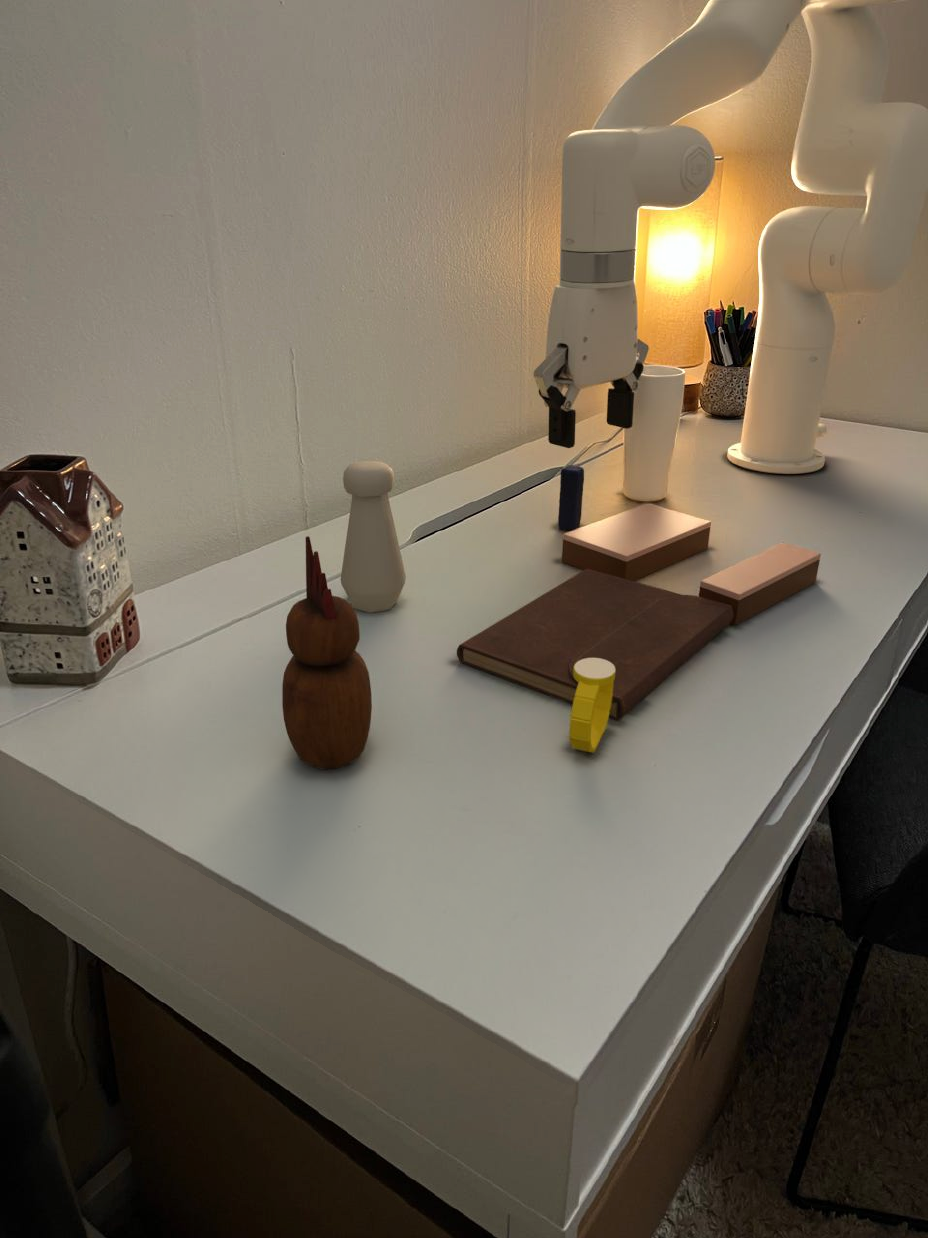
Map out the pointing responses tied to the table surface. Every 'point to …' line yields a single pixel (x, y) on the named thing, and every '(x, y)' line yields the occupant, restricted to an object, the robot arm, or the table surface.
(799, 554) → the brown long rectangular block
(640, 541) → the brown and tan block
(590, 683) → the watch
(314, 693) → the wooden figurine
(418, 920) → the table surface
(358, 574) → the salt shaker
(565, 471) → the eraser
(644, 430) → the drinking glass
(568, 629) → the notebook
